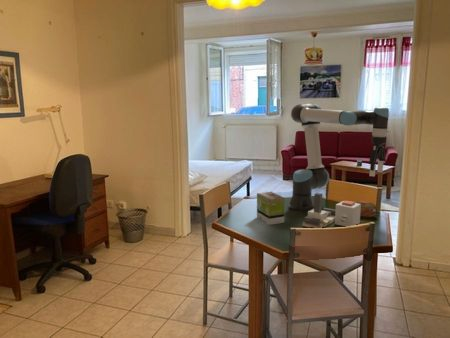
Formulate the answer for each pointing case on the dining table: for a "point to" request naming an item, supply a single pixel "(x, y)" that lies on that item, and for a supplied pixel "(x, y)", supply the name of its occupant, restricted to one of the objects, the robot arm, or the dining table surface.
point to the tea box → (270, 207)
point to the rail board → (326, 222)
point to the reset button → (348, 203)
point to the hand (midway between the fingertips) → (376, 174)
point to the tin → (367, 209)
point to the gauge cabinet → (347, 214)
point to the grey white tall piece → (317, 208)
